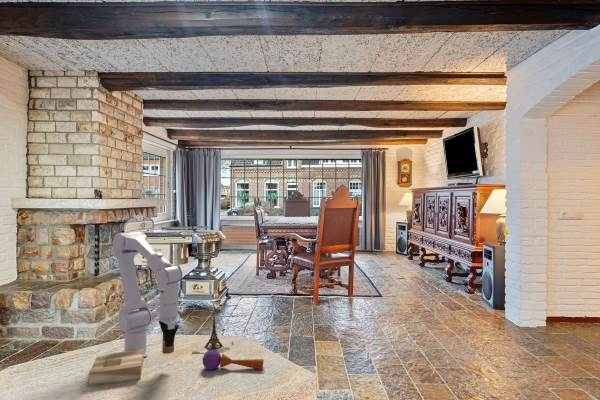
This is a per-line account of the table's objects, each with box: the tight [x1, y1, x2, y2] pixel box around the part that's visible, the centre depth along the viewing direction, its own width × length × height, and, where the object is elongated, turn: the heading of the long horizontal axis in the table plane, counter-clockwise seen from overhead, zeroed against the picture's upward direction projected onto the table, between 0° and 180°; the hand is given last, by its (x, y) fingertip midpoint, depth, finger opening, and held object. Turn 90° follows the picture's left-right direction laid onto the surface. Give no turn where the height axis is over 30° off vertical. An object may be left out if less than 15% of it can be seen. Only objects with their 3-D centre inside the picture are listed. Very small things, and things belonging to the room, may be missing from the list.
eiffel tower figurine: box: [191, 315, 234, 355], centre depth 133 cm, size 15×10×13 cm
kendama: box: [202, 350, 265, 371], centre depth 117 cm, size 6×6×20 cm
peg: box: [161, 334, 175, 355], centre depth 116 cm, size 4×4×8 cm
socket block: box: [88, 349, 144, 387], centre depth 113 cm, size 13×14×4 cm
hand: (168, 343), depth 116 cm, fingers closed on peg, 4 cm apart
